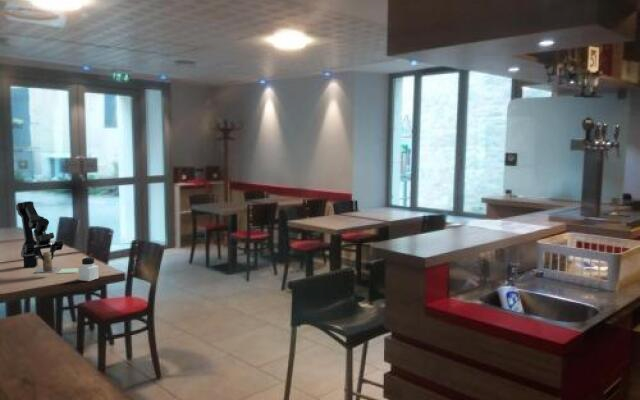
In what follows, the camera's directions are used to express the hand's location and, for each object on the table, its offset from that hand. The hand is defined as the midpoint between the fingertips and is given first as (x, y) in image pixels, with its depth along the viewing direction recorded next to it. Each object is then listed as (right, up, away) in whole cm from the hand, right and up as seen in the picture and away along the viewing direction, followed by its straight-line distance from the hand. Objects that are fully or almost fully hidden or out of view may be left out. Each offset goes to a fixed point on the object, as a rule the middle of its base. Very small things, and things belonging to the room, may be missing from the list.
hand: (48, 259), depth 275 cm
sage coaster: (+5, -9, +14) cm, 17 cm away
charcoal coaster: (-10, -8, +15) cm, 20 cm away
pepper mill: (-1, -6, +2) cm, 7 cm away
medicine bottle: (+24, -11, -3) cm, 26 cm away
